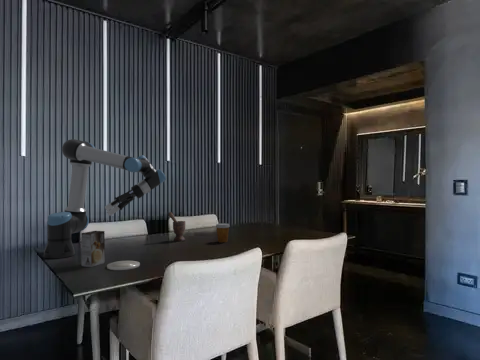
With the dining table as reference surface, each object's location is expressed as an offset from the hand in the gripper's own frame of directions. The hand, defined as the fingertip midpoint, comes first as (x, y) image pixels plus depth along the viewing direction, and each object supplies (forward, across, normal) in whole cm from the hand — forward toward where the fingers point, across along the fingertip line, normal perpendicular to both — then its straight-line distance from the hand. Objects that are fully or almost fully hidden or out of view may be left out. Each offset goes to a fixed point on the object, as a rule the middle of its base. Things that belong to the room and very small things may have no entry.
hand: (107, 211), depth 186 cm
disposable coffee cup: (-49, +37, -53) cm, 81 cm away
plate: (+10, -15, -30) cm, 35 cm away
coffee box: (+20, -7, -20) cm, 29 cm away
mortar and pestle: (-27, +48, -33) cm, 64 cm away
